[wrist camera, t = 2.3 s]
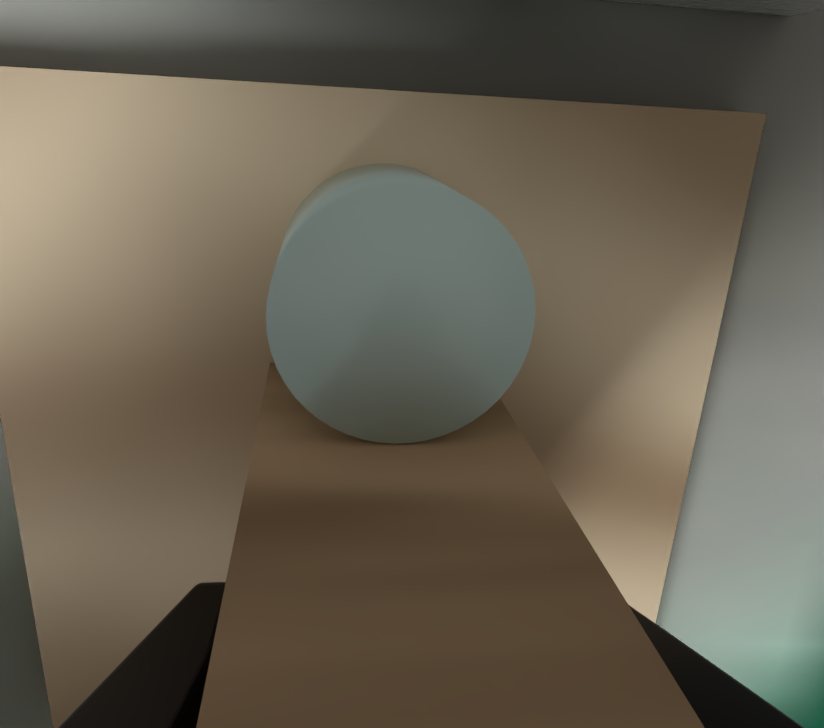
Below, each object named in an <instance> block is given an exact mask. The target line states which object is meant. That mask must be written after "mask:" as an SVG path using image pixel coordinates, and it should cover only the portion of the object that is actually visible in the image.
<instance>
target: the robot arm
mask: <svg viewBox="0 0 824 728" xmlns="http://www.w3.org/2000/svg"><path fill="white" fill-rule="evenodd" d="M225 583H226V582H204V583H199V584H197V585H195V586H194V587H193V588H192V589H191V590H190V591H189V592H188V593H187V594H186V595H185V596H184V597H183V598H182V600H181V601H180V602H179V603H178V604H177V605H176V606H175V607H174V608H173V609H172V610H171V611H170V612H169V613H168V614H167V615H166V616H165V617H164V618H163V619H162V620H161V621H160V622H159V623H158V624H157V626H156V627H155V628H154V629H153V630H152V631H151V632H150V633H149V634H148V635H147V636H146V637H145V638H144V639H143V640H142V641H141V642H140V643H139V644H138V645H137V646H136V647H135V648H134V649H133V650H132V652H131V653H130V654H129V655H128V656H127V657H126V658H125V659H124V660H123V661H122V662H121V663H120V664H119V665H118V666H117V667H116V668H115V669H114V670H113V671H112V672H111V673H110V674H109V675H108V676H107V677H106V679H105V680H104V681H103V682H102V683H101V684H100V685H99V686H98V687H97V688H96V689H95V690H94V691H93V692H92V693H91V694H90V695H89V696H88V697H87V698H86V699H85V700H84V701H83V702H82V703H81V705H80V706H79V707H78V708H77V709H76V710H75V711H74V712H73V713H72V714H71V715H70V716H69V717H68V718H67V719H66V720H65V721H64V722H63V723H62V724H61V725H60V726H59V727H58V728H196V726H197V722H198V717H199V712H200V707H201V702H202V697H203V692H204V687H205V682H206V677H207V672H208V667H209V662H210V657H211V652H212V647H213V642H214V637H215V633H216V628H217V623H218V618H219V613H220V608H221V603H222V598H223V593H224V588H225ZM629 607H630V608H631V610H632V611H633V613H634V615H635V616H636V618H637V620H638V621H639V623H640V624H641V626H642V628H643V629H644V631H645V632H646V634H647V636H648V637H649V639H650V640H651V642H652V644H653V645H654V647H655V649H656V650H657V652H658V653H659V655H660V657H661V658H662V660H663V661H664V663H665V665H666V666H667V668H668V669H669V671H670V673H671V674H672V676H673V678H674V679H675V681H676V682H677V684H678V686H679V687H680V689H681V690H682V692H683V694H684V695H685V697H686V699H687V700H688V702H689V703H690V705H691V707H692V708H693V710H694V711H695V713H696V715H697V716H698V718H699V719H700V721H701V723H702V724H703V726H704V728H804V727H803V726H801V725H800V724H798V723H797V722H795V721H794V720H793V719H791V718H790V717H788V716H787V715H785V714H784V713H783V712H781V711H780V710H778V709H777V708H775V707H774V706H773V705H771V704H770V703H768V702H767V701H765V700H764V699H763V698H761V697H760V696H758V695H757V694H755V693H754V692H753V691H751V690H750V689H748V688H747V687H745V686H744V685H743V684H741V683H740V682H738V681H737V680H735V679H734V678H733V677H731V676H730V675H728V674H727V673H725V672H724V671H723V670H721V669H720V668H718V667H717V666H715V665H714V664H713V663H711V662H710V661H708V660H707V659H705V658H704V657H703V656H701V655H700V654H698V653H697V652H695V651H694V650H693V649H691V648H690V647H688V646H687V645H685V644H684V643H683V642H681V641H680V640H678V639H677V638H675V637H674V636H673V635H671V634H670V633H668V632H667V631H665V630H664V629H663V628H661V627H660V626H658V625H657V624H655V623H654V622H653V621H651V620H650V619H648V618H647V617H645V616H644V615H643V614H641V613H640V612H638V611H637V610H635V609H634V608H633V607H631V606H630V605H629Z"/></svg>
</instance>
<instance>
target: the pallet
mask: <svg viewBox="0 0 824 728" xmlns="http://www.w3.org/2000/svg"><path fill="white" fill-rule="evenodd" d="M766 114H767V113H752V112H736V111H720V110H704V109H688V108H671V107H655V106H639V105H623V104H607V103H590V102H574V101H558V100H542V99H525V98H509V97H493V96H477V95H461V94H444V93H428V92H412V91H396V90H380V89H363V88H347V87H331V86H315V85H298V84H282V83H266V82H250V81H234V80H217V79H201V78H185V77H169V76H153V75H136V74H120V73H104V72H88V71H71V70H55V69H39V68H23V67H7V66H0V417H1V423H2V429H3V435H4V441H5V447H6V453H7V459H8V465H9V471H10V476H11V482H12V488H13V494H14V500H15V506H16V512H17V518H18V524H19V530H20V536H21V542H22V548H23V554H24V560H25V566H26V571H27V577H28V583H29V589H30V595H31V601H32V607H33V613H34V619H35V625H36V631H37V637H38V643H39V649H40V655H41V661H42V666H43V672H44V678H45V684H46V690H47V696H48V702H49V708H50V714H51V720H52V726H53V728H58V727H59V726H60V725H61V724H62V723H63V722H64V721H65V720H66V719H67V718H68V717H69V716H70V715H71V714H72V713H73V712H74V711H75V710H76V709H77V708H78V707H79V706H80V705H81V703H82V702H83V701H84V700H85V699H86V698H87V697H88V696H89V695H90V694H91V693H92V692H93V691H94V690H95V689H96V688H97V687H98V686H99V685H100V684H101V683H102V682H103V681H104V680H105V679H106V677H107V676H108V675H109V674H110V673H111V672H112V671H113V670H114V669H115V668H116V667H117V666H118V665H119V664H120V663H121V662H122V661H123V660H124V659H125V658H126V657H127V656H128V655H129V654H130V653H131V652H132V650H133V649H134V648H135V647H136V646H137V645H138V644H139V643H140V642H141V641H142V640H143V639H144V638H145V637H146V636H147V635H148V634H149V633H150V632H151V631H152V630H153V629H154V628H155V627H156V626H157V624H158V623H159V622H160V621H161V620H162V619H163V618H164V617H165V616H166V615H167V614H168V613H169V612H170V611H171V610H172V609H173V608H174V607H175V606H176V605H177V604H178V603H179V602H180V601H181V600H182V598H183V597H184V596H185V595H186V594H187V593H188V592H189V591H190V590H191V589H192V588H193V587H194V586H195V585H197V584H199V583H204V582H226V583H225V588H224V593H223V598H222V603H221V608H220V613H219V618H218V623H217V628H216V633H215V637H214V642H213V647H212V652H211V657H210V662H209V667H208V672H207V677H206V682H205V687H204V692H203V697H202V702H201V707H200V712H199V717H198V722H197V726H196V728H704V726H703V724H702V723H701V721H700V719H699V718H698V716H697V715H696V713H695V711H694V710H693V708H692V707H691V705H690V703H689V702H688V700H687V699H686V697H685V695H684V694H683V692H682V690H681V689H680V687H679V686H678V684H677V682H676V681H675V679H674V678H673V676H672V674H671V673H670V671H669V669H668V668H667V666H666V665H665V663H664V661H663V660H662V658H661V657H660V655H659V653H658V652H657V650H656V649H655V647H654V645H653V644H652V642H651V640H650V639H649V637H648V636H647V634H646V632H645V631H644V629H643V628H642V626H641V624H640V623H639V621H638V620H637V618H636V616H635V615H634V613H633V611H632V610H631V608H630V607H629V605H630V606H631V607H633V608H634V609H635V610H637V611H638V612H640V613H641V614H643V615H644V616H645V617H647V618H648V619H650V620H651V621H653V622H654V623H656V619H657V614H658V609H659V605H660V600H661V596H662V591H663V586H664V582H665V577H666V573H667V568H668V563H669V559H670V554H671V550H672V545H673V541H674V536H675V531H676V527H677V522H678V518H679V513H680V508H681V504H682V499H683V495H684V490H685V485H686V481H687V476H688V472H689V467H690V462H691V458H692V453H693V449H694V444H695V440H696V435H697V430H698V426H699V421H700V417H701V412H702V407H703V403H704V398H705V394H706V389H707V384H708V380H709V375H710V371H711V366H712V361H713V357H714V352H715V348H716V343H717V339H718V334H719V329H720V325H721V320H722V316H723V311H724V306H725V302H726V297H727V293H728V288H729V283H730V279H731V274H732V270H733V265H734V260H735V256H736V251H737V247H738V242H739V238H740V233H741V228H742V224H743V219H744V215H745V210H746V205H747V201H748V196H749V192H750V187H751V182H752V178H753V173H754V169H755V164H756V159H757V155H758V150H759V146H760V141H761V136H762V132H763V127H764V123H765V118H766ZM370 164H394V165H401V166H406V167H409V168H413V169H416V170H418V171H421V172H423V173H425V174H428V175H429V176H431V177H433V178H435V179H436V180H438V181H440V182H441V183H443V184H445V185H447V186H448V187H450V188H452V189H453V190H455V191H457V192H459V193H460V194H462V195H464V196H465V197H467V198H469V199H470V200H472V201H474V202H475V203H477V204H479V205H480V206H482V207H483V208H485V209H486V210H487V211H488V212H489V213H491V214H492V215H493V216H494V217H496V218H497V219H498V221H499V222H500V223H501V224H502V225H503V226H504V227H505V228H506V229H507V230H508V231H509V233H510V234H511V236H512V237H513V239H514V240H515V241H516V243H517V244H518V246H519V248H520V250H521V252H522V254H523V256H524V258H525V260H526V263H527V265H528V268H529V271H530V274H531V278H532V283H533V288H534V293H535V309H536V310H535V325H534V331H533V336H532V340H531V344H530V347H529V350H528V353H527V356H526V359H525V361H524V363H523V365H522V367H521V369H520V371H519V373H518V375H517V376H516V378H515V379H514V381H513V382H512V384H511V385H510V387H509V388H508V389H507V390H506V392H505V393H504V394H503V395H502V396H501V398H500V399H499V400H498V401H497V402H496V403H495V404H494V405H493V406H492V407H490V408H489V409H488V410H487V411H486V412H485V413H483V414H482V415H481V416H479V417H478V418H477V419H475V420H474V421H472V422H470V423H469V424H467V425H465V426H463V427H462V428H460V429H458V430H456V431H453V432H451V433H448V434H446V435H444V436H440V437H437V438H433V439H430V440H426V441H420V442H414V443H399V444H393V443H378V442H373V441H368V440H363V439H360V438H356V437H353V436H350V435H347V434H345V433H343V432H341V431H338V430H336V429H334V428H332V427H330V426H329V425H327V424H326V423H324V422H322V421H321V420H319V419H318V418H316V417H315V416H314V415H313V414H312V413H310V412H309V411H308V410H307V409H306V408H305V407H304V406H303V405H302V404H301V403H300V402H299V401H298V400H297V399H296V398H295V397H294V396H293V394H292V393H291V391H290V390H289V389H288V387H287V386H286V384H285V383H284V381H283V379H282V377H281V375H280V374H279V372H278V370H277V368H276V365H275V363H274V360H273V357H272V354H271V351H270V347H269V342H268V337H267V328H266V306H267V297H268V292H269V287H270V283H271V279H272V276H273V273H274V269H275V266H276V263H277V259H278V256H279V253H280V249H281V246H282V243H283V239H284V236H285V233H286V231H287V228H288V225H289V223H290V221H291V219H292V217H293V215H294V213H295V212H296V210H297V209H298V207H299V206H300V205H301V203H302V202H303V201H304V199H305V198H306V197H307V196H308V195H309V194H310V193H311V192H312V191H313V190H314V189H316V188H317V187H318V186H319V185H320V184H322V183H323V182H324V181H326V180H328V179H329V178H331V177H333V176H334V175H336V174H339V173H341V172H343V171H346V170H348V169H351V168H355V167H358V166H363V165H370Z"/></svg>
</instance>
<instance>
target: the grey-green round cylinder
mask: <svg viewBox="0 0 824 728" xmlns="http://www.w3.org/2000/svg"><path fill="white" fill-rule="evenodd" d="M535 310H536V309H535V293H534V288H533V283H532V278H531V274H530V271H529V268H528V265H527V263H526V260H525V258H524V256H523V254H522V252H521V250H520V248H519V246H518V244H517V243H516V241H515V240H514V239H513V237H512V236H511V234H510V233H509V231H508V230H507V229H506V228H505V227H504V226H503V225H502V224H501V223H500V222H499V221H498V219H497V218H496V217H494V216H493V215H492V214H491V213H489V212H488V211H487V210H486V209H485V208H483V207H482V206H480V205H479V204H477V203H475V202H474V201H472V200H470V199H469V198H467V197H465V196H464V195H462V194H460V193H459V192H457V191H455V190H453V189H452V188H450V187H448V186H447V185H445V184H443V183H441V182H440V181H438V180H436V179H435V178H433V177H431V176H429V175H428V174H425V173H423V172H421V171H418V170H416V169H413V168H409V167H406V166H401V165H394V164H370V165H363V166H358V167H355V168H351V169H348V170H346V171H343V172H341V173H339V174H336V175H334V176H333V177H331V178H329V179H328V180H326V181H324V182H323V183H322V184H320V185H319V186H318V187H317V188H316V189H314V190H313V191H312V192H311V193H310V194H309V195H308V196H307V197H306V198H305V199H304V201H303V202H302V203H301V205H300V206H299V207H298V209H297V210H296V212H295V213H294V215H293V217H292V219H291V221H290V223H289V225H288V228H287V231H286V233H285V236H284V239H283V243H282V246H281V249H280V253H279V256H278V259H277V263H276V266H275V269H274V273H273V276H272V279H271V283H270V287H269V292H268V297H267V306H266V328H267V337H268V342H269V347H270V351H271V354H272V357H273V360H274V363H275V365H276V368H277V370H278V372H279V374H280V375H281V377H282V379H283V381H284V383H285V384H286V386H287V387H288V389H289V390H290V391H291V393H292V394H293V396H294V397H295V398H296V399H297V400H298V401H299V402H300V403H301V404H302V405H303V406H304V407H305V408H306V409H307V410H308V411H309V412H310V413H312V414H313V415H314V416H315V417H316V418H318V419H319V420H321V421H322V422H324V423H326V424H327V425H329V426H330V427H332V428H334V429H336V430H338V431H341V432H343V433H345V434H347V435H350V436H353V437H356V438H360V439H363V440H368V441H373V442H378V443H393V444H399V443H414V442H420V441H426V440H430V439H433V438H437V437H440V436H444V435H446V434H448V433H451V432H453V431H456V430H458V429H460V428H462V427H463V426H465V425H467V424H469V423H470V422H472V421H474V420H475V419H477V418H478V417H479V416H481V415H482V414H483V413H485V412H486V411H487V410H488V409H489V408H490V407H492V406H493V405H494V404H495V403H496V402H497V401H498V400H499V399H500V398H501V396H502V395H503V394H504V393H505V392H506V390H507V389H508V388H509V387H510V385H511V384H512V382H513V381H514V379H515V378H516V376H517V375H518V373H519V371H520V369H521V367H522V365H523V363H524V361H525V359H526V356H527V353H528V350H529V347H530V344H531V340H532V336H533V331H534V325H535Z"/></svg>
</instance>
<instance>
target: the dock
mask: <svg viewBox="0 0 824 728" xmlns="http://www.w3.org/2000/svg"><path fill="white" fill-rule="evenodd" d="M607 1H619V2H631V3H642V4H654V5H666V6H677V7H689V8H701V9H712V10H724V11H736V12H747V13H759V14H771V15H782V16H794V15H799V14H804V13H809V12H814V11H819V10H824V0H607Z"/></svg>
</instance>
